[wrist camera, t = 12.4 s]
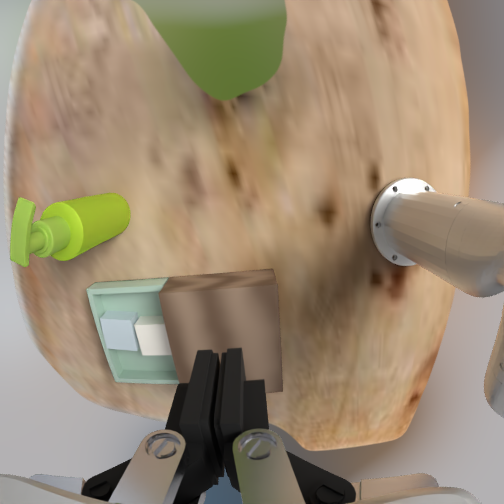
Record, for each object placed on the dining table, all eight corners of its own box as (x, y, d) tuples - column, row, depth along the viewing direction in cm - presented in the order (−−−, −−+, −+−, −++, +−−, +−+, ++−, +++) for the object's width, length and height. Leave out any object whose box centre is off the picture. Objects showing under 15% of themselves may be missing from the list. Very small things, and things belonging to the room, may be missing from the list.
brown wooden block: (273, 268, 40) (277, 284, 34) (278, 367, 44) (282, 391, 38) (169, 277, 40) (158, 293, 34) (189, 372, 44) (183, 396, 38)
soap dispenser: (137, 192, 37) (48, 210, 18) (124, 240, 39) (39, 294, 19) (100, 180, 37) (0, 191, 17) (89, 228, 38) (-6, 269, 19)
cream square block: (172, 314, 41) (167, 323, 38) (179, 344, 42) (175, 355, 39) (140, 316, 41) (134, 325, 38) (147, 345, 42) (142, 355, 39)
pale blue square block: (99, 318, 38) (107, 310, 41) (106, 348, 39) (113, 339, 42) (130, 320, 38) (137, 311, 41) (137, 351, 39) (142, 341, 42)
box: (168, 277, 40) (163, 284, 37) (188, 372, 44) (185, 384, 41) (95, 282, 40) (86, 289, 37) (121, 371, 44) (115, 381, 41)
